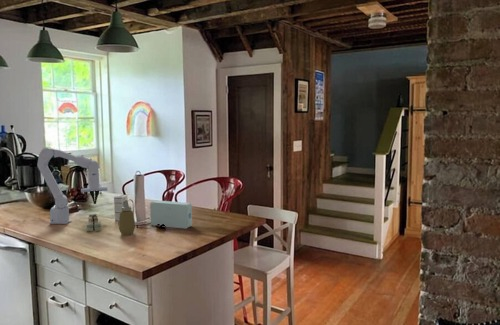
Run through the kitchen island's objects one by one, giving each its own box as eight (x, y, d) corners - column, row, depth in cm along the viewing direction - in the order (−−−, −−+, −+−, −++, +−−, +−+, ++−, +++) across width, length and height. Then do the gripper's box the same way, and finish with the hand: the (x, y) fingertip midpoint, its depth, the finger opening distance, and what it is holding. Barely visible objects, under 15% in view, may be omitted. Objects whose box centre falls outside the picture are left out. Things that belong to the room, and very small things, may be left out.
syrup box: (123, 221, 233) (122, 196, 231) (114, 220, 234) (113, 196, 233) (128, 218, 239) (127, 194, 237) (119, 218, 240) (118, 194, 238)
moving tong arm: (86, 223, 228) (86, 217, 228) (92, 222, 229) (92, 216, 229) (86, 231, 212) (86, 224, 211) (93, 230, 213) (92, 224, 212)
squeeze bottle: (126, 237, 202) (125, 202, 200) (115, 234, 206) (114, 200, 204) (138, 233, 209) (137, 199, 207) (128, 231, 213) (126, 198, 211)
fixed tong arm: (89, 221, 233) (89, 214, 232) (99, 220, 235) (99, 213, 235) (89, 231, 212) (89, 224, 212) (101, 230, 214) (100, 222, 214)
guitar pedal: (149, 225, 224) (149, 202, 223) (155, 223, 230) (154, 200, 228) (187, 229, 217) (186, 205, 216) (192, 226, 223) (191, 203, 221)
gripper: (80, 182, 229) (81, 205, 230) (107, 181, 234) (108, 203, 236) (80, 180, 235) (81, 203, 237) (106, 179, 241) (107, 201, 242)
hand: (94, 203), depth 237 cm, fingers closed
